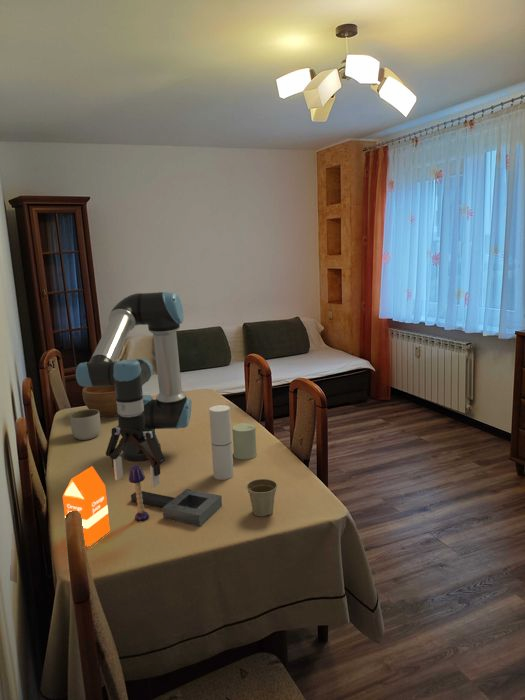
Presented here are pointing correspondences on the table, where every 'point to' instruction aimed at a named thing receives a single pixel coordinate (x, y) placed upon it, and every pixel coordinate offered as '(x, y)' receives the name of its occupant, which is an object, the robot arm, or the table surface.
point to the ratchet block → (184, 505)
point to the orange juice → (88, 504)
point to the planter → (85, 424)
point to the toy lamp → (138, 491)
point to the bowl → (101, 400)
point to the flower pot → (262, 496)
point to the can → (244, 441)
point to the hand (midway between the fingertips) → (137, 481)
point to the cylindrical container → (221, 442)
